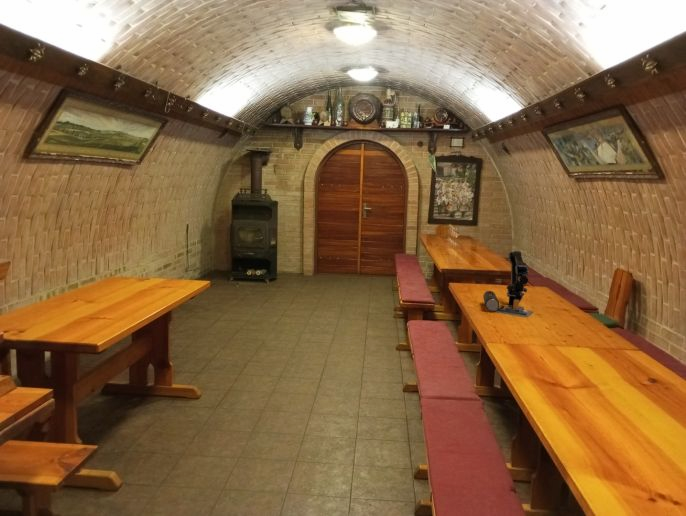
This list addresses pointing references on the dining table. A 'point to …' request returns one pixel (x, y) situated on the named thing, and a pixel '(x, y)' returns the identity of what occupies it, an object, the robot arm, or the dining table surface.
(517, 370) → the dining table surface
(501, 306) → the grey flat frame
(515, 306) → the toggle
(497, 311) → the panel
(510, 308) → the box
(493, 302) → the muzzle brake
